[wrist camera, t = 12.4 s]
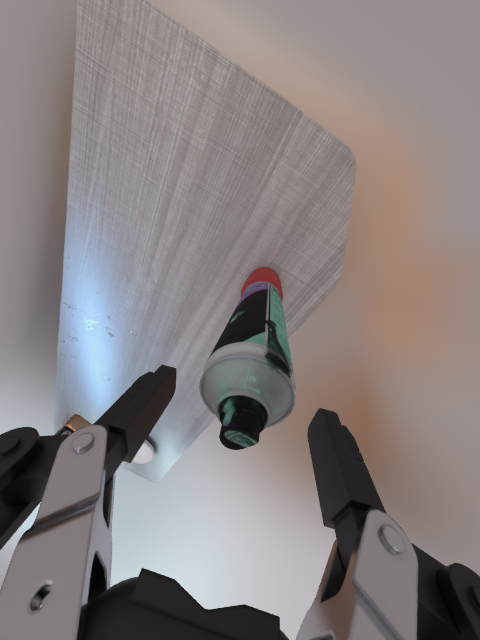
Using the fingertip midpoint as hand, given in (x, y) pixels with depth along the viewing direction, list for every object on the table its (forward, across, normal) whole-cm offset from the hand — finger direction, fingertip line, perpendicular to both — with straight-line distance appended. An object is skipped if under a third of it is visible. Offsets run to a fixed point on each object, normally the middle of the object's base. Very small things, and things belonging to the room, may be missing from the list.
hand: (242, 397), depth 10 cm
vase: (+30, +32, +71) cm, 83 cm away
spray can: (+18, 0, 0) cm, 18 cm away
